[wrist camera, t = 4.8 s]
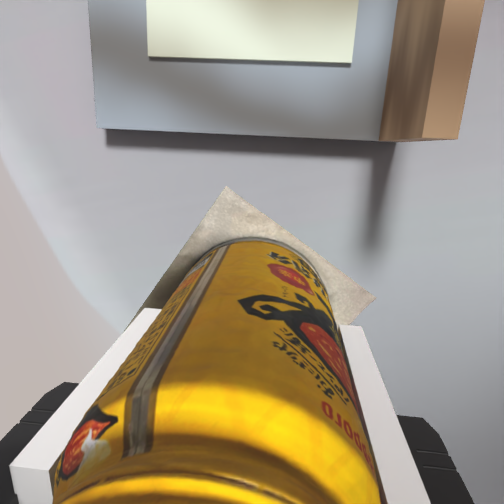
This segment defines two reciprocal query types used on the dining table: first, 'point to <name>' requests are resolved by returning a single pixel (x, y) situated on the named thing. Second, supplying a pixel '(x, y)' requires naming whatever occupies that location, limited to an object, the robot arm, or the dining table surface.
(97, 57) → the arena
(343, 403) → the condiment
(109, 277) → the dining table surface
